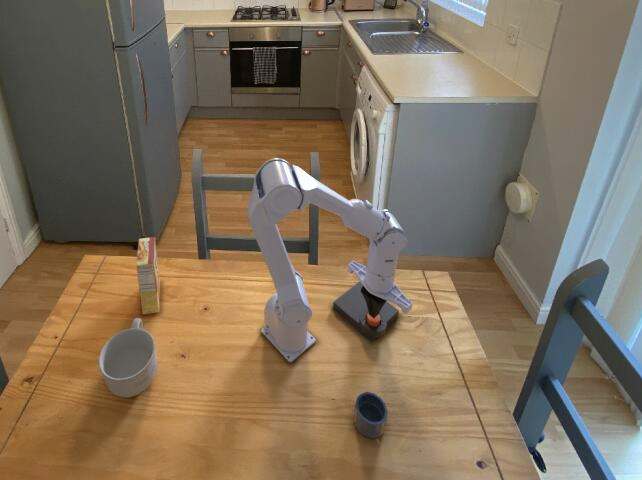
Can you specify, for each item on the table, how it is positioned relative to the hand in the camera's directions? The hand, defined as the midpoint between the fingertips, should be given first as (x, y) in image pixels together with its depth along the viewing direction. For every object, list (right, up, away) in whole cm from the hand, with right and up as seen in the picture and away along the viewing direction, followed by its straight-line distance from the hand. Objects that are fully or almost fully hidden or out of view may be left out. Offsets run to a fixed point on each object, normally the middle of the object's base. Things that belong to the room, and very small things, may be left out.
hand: (373, 313), depth 92 cm
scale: (0, -3, +7) cm, 7 cm away
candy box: (-51, -2, +11) cm, 52 cm away
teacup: (-51, -9, -5) cm, 52 cm away
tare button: (0, -2, +1) cm, 2 cm away
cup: (-6, -12, -15) cm, 20 cm away
